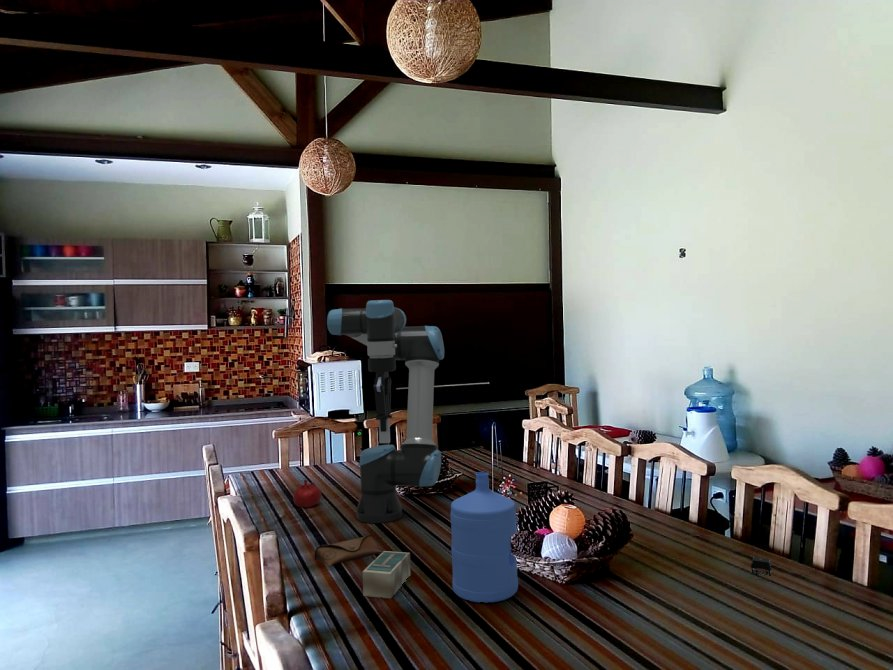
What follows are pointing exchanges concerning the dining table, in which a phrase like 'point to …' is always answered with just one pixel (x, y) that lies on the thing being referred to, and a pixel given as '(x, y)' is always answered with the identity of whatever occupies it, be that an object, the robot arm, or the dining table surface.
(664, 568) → the dining table surface
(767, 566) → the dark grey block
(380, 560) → the cream and teal box
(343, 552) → the sunglasses case
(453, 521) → the water jug
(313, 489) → the pomegranate
